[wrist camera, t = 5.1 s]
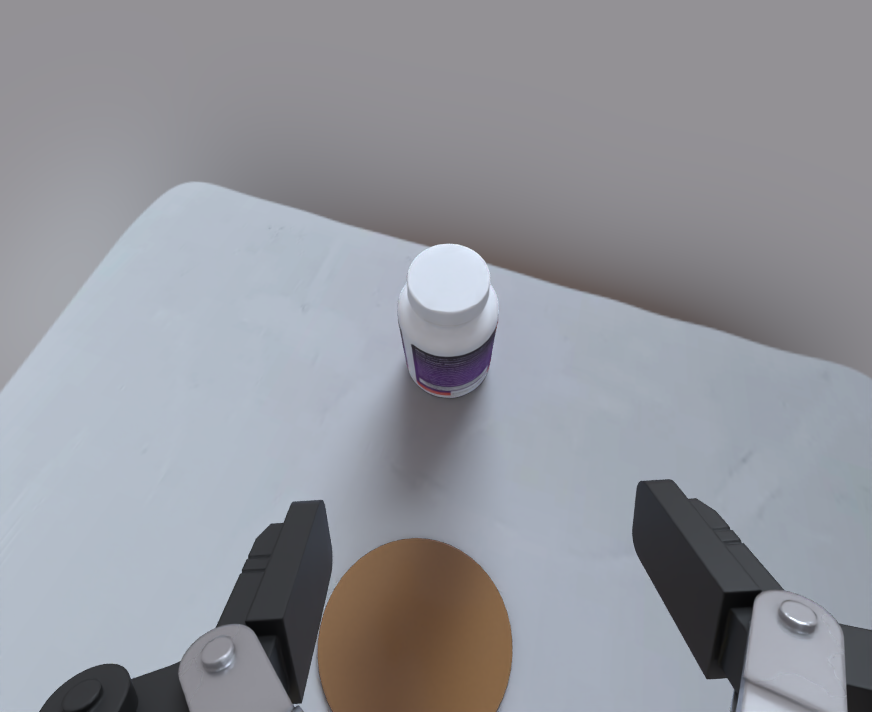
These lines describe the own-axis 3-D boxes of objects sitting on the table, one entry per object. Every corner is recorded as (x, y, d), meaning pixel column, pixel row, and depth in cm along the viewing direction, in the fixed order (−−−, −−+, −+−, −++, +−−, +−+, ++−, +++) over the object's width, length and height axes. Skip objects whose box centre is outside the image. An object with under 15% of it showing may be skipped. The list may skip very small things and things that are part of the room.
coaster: (516, 550, 27) (517, 549, 27) (506, 776, 23) (506, 778, 23) (339, 528, 28) (338, 527, 28) (299, 744, 24) (297, 746, 24)
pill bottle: (506, 368, 32) (529, 287, 23) (438, 416, 30) (435, 349, 22) (456, 310, 34) (459, 213, 25) (390, 352, 32) (369, 267, 23)
